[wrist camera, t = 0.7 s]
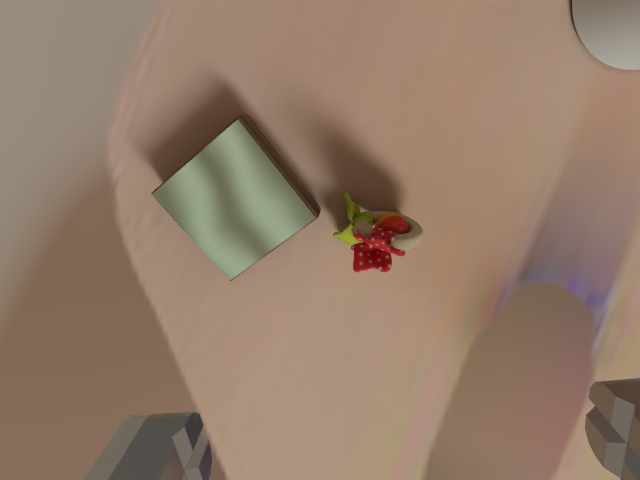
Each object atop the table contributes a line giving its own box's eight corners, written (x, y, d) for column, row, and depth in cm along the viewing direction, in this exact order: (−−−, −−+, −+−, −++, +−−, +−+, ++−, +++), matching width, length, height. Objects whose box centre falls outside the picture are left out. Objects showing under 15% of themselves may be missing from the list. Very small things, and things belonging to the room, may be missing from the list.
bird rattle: (394, 185, 44) (322, 191, 41) (457, 208, 34) (368, 218, 31) (390, 235, 46) (322, 244, 43) (448, 271, 36) (365, 285, 33)
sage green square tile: (247, 115, 40) (237, 116, 37) (320, 208, 43) (318, 218, 40) (165, 186, 44) (148, 194, 40) (238, 269, 47) (229, 283, 43)
